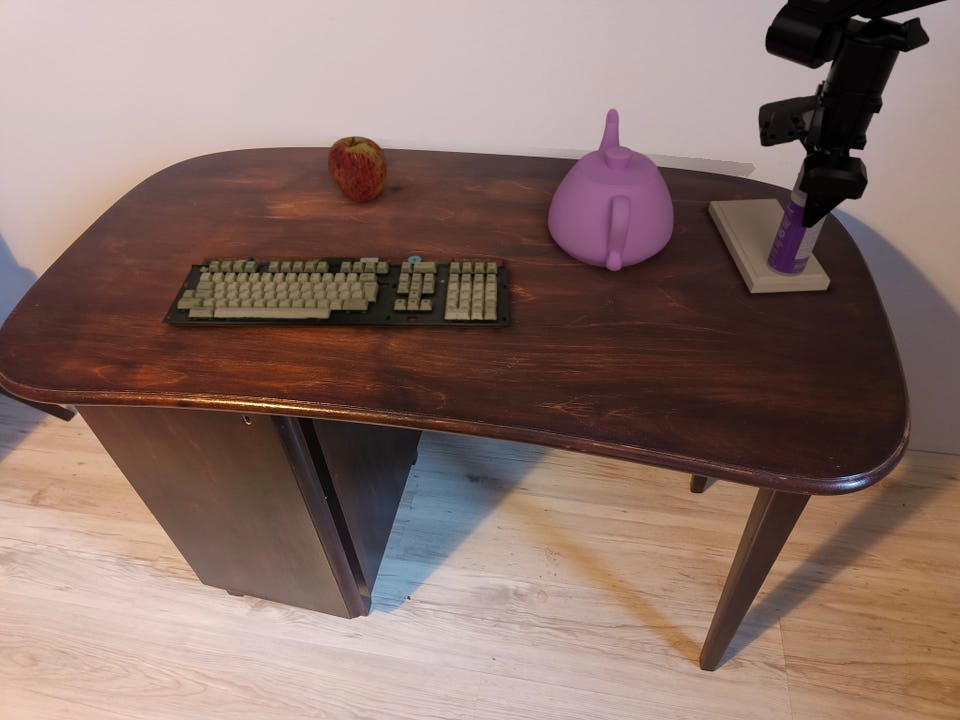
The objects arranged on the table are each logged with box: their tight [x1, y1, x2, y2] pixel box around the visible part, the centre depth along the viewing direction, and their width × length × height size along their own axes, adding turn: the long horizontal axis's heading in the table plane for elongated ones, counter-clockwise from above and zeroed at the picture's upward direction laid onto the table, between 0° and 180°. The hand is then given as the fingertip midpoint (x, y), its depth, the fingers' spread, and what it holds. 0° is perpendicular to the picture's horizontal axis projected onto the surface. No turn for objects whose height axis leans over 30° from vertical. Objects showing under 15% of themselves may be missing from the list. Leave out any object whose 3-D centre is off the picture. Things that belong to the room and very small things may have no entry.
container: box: [767, 153, 828, 277], centre depth 79 cm, size 5×5×15 cm
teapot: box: [547, 108, 675, 272], centre depth 90 cm, size 25×18×14 cm
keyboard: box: [161, 255, 511, 329], centre depth 86 cm, size 45×15×2 cm, turn 88°
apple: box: [327, 135, 388, 203], centre depth 100 cm, size 9×9×10 cm
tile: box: [708, 198, 831, 294], centre depth 90 cm, size 20×10×2 cm, turn 2°
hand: (806, 210), depth 78 cm, fingers open, 7 cm apart
